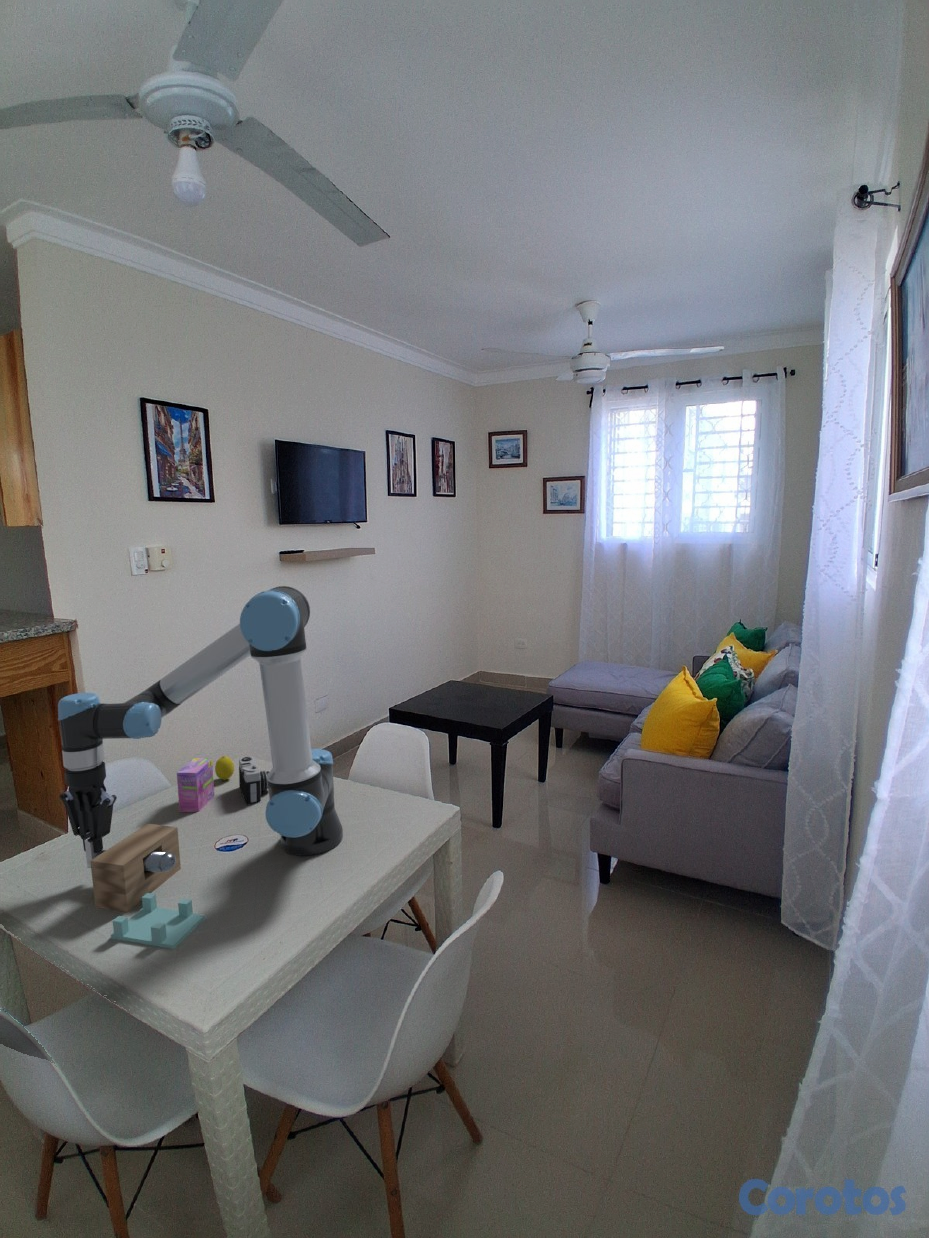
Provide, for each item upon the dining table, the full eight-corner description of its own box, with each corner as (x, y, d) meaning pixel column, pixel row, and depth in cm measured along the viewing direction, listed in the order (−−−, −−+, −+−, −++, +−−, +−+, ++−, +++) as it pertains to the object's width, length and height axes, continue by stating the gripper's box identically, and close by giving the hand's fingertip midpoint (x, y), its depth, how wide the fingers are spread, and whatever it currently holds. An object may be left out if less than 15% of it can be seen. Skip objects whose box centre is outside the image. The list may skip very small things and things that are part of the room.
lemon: (223, 785, 183) (221, 760, 182) (212, 781, 186) (210, 757, 185) (238, 779, 188) (237, 754, 186) (227, 775, 190) (225, 751, 189)
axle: (181, 865, 130) (178, 848, 130) (168, 876, 126) (165, 858, 126) (105, 862, 135) (102, 845, 134) (91, 872, 131) (87, 855, 131)
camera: (273, 802, 172) (271, 769, 170) (239, 807, 169) (237, 774, 167) (270, 783, 185) (269, 752, 183) (239, 787, 182) (237, 756, 180)
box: (199, 812, 166) (196, 772, 164) (179, 812, 166) (175, 772, 164) (215, 795, 176) (212, 757, 174) (196, 795, 176) (193, 757, 174)
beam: (180, 869, 138) (177, 827, 136) (127, 912, 123) (123, 865, 121) (151, 865, 140) (147, 823, 138) (95, 907, 124) (90, 860, 123)
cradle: (205, 919, 120) (203, 901, 120) (174, 950, 112) (172, 930, 111) (145, 910, 123) (144, 892, 123) (111, 939, 115) (109, 920, 114)
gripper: (123, 760, 132) (132, 859, 135) (74, 755, 135) (85, 852, 138) (95, 774, 124) (105, 877, 128) (44, 768, 127) (56, 870, 131)
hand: (95, 864), depth 133 cm, fingers closed
